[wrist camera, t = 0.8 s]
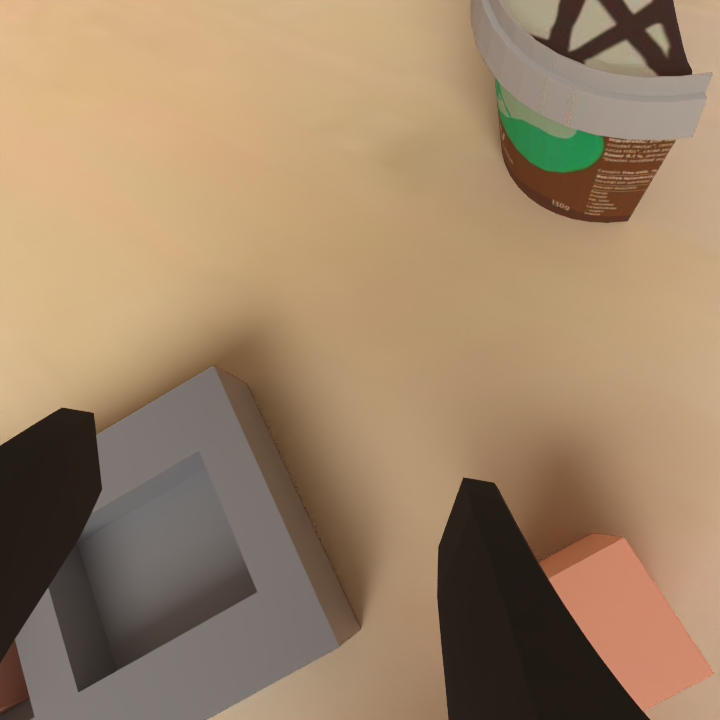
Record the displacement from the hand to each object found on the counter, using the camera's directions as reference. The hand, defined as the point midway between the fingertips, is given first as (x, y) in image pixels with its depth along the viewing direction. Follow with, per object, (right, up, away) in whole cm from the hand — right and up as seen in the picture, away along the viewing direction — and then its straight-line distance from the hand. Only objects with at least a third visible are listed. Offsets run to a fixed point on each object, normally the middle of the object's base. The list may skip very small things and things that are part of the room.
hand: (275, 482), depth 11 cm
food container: (+10, +13, +16) cm, 23 cm away
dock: (-11, -9, +15) cm, 20 cm away
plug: (+10, -7, +11) cm, 16 cm away
